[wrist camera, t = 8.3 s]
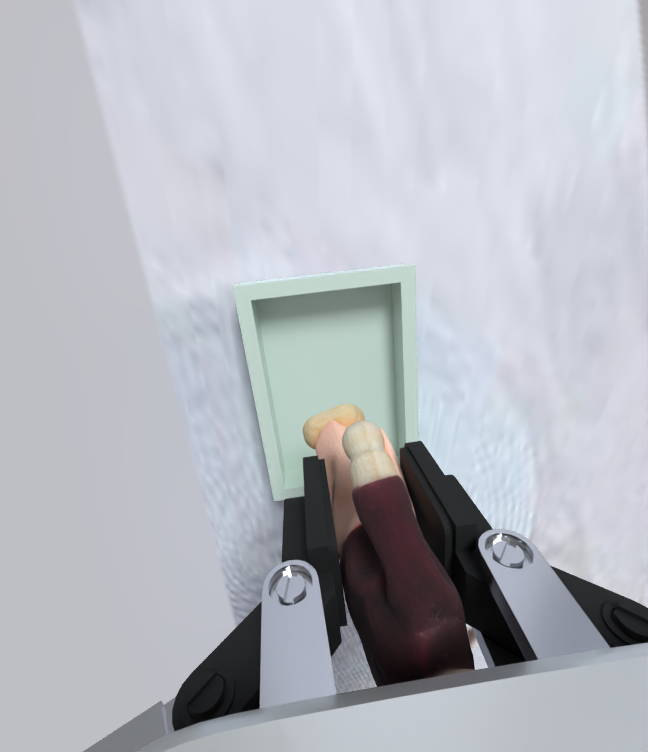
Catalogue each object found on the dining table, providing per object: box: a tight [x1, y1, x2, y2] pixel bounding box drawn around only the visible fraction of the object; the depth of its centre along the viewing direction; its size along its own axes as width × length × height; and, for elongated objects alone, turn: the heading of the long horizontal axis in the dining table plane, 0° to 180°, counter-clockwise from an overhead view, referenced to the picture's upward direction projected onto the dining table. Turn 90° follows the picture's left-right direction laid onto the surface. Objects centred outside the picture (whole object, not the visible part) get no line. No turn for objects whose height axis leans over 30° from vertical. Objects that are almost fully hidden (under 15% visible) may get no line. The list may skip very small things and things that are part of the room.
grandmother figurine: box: [303, 404, 475, 687], centre depth 9 cm, size 8×4×13 cm, turn 18°
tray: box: [232, 264, 419, 501], centre depth 21 cm, size 14×10×3 cm
